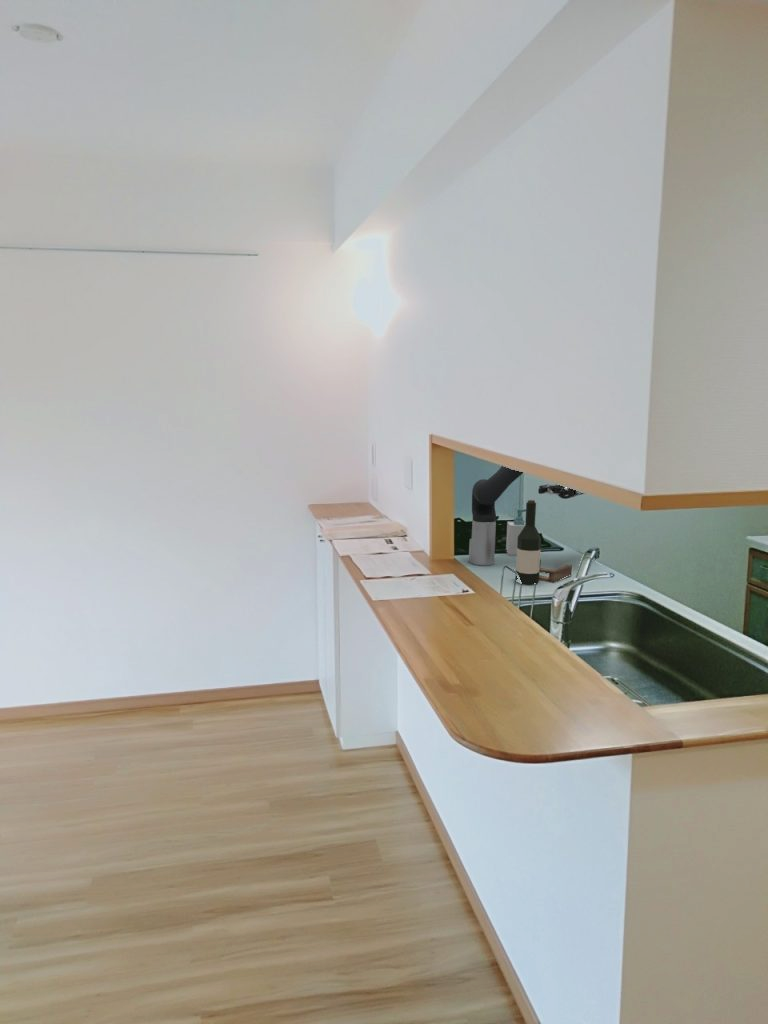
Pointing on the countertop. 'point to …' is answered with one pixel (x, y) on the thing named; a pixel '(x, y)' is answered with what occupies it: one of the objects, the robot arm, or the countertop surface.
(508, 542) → the soap bottle
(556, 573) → the cradle
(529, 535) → the wine bottle
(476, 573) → the countertop surface
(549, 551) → the countertop surface
